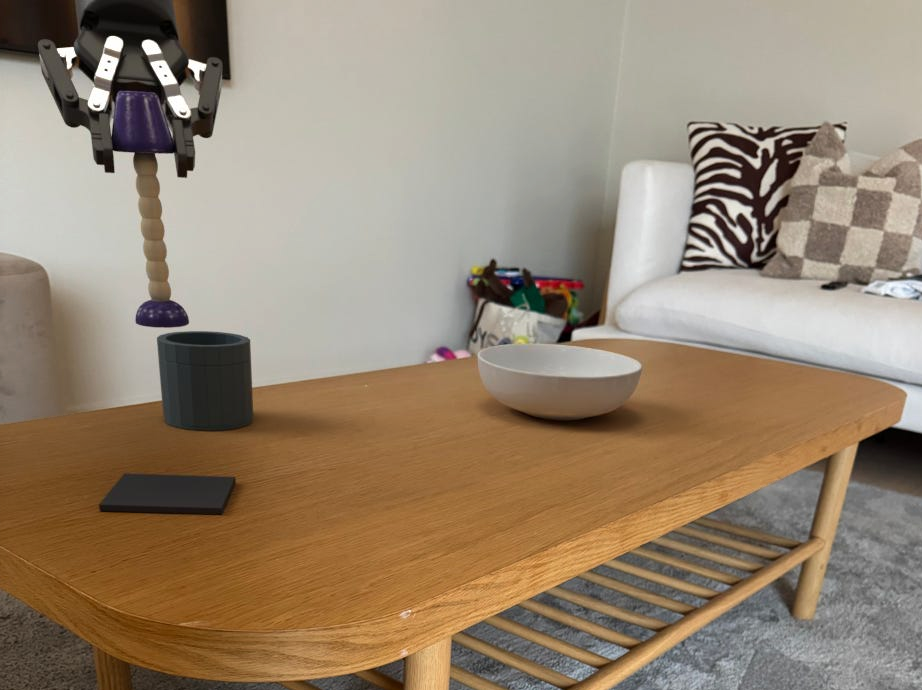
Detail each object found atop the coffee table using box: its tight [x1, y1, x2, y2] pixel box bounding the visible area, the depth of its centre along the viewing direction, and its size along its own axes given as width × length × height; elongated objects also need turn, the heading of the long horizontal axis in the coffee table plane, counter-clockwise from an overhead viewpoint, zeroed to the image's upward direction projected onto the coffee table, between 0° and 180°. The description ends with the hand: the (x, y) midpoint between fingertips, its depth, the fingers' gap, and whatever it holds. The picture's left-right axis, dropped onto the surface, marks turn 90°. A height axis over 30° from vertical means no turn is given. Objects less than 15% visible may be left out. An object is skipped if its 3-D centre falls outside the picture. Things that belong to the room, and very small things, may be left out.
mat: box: [98, 472, 237, 515], centre depth 84 cm, size 10×9×1 cm
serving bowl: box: [477, 343, 643, 421], centre depth 122 cm, size 21×21×7 cm
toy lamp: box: [111, 91, 190, 329], centre depth 75 cm, size 5×5×17 cm
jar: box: [156, 330, 254, 432], centre depth 107 cm, size 10×10×9 cm
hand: (146, 166), depth 72 cm, fingers closed on toy lamp, 4 cm apart
